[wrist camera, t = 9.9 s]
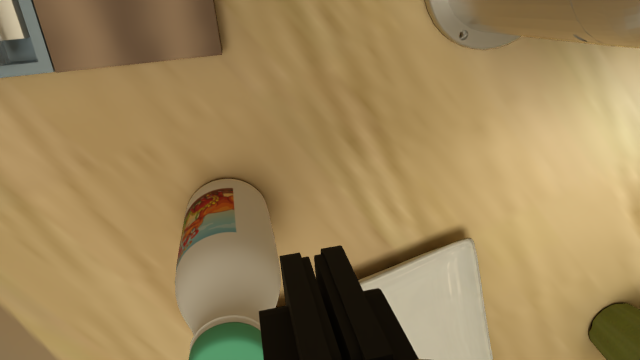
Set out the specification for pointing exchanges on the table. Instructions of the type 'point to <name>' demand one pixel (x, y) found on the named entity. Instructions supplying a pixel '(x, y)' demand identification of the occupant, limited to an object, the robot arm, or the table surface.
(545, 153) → the table surface
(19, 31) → the white tile
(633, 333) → the plant pot
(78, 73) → the table surface
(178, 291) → the milk bottle
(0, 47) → the bar
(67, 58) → the walnut board
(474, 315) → the square plate
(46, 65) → the box
